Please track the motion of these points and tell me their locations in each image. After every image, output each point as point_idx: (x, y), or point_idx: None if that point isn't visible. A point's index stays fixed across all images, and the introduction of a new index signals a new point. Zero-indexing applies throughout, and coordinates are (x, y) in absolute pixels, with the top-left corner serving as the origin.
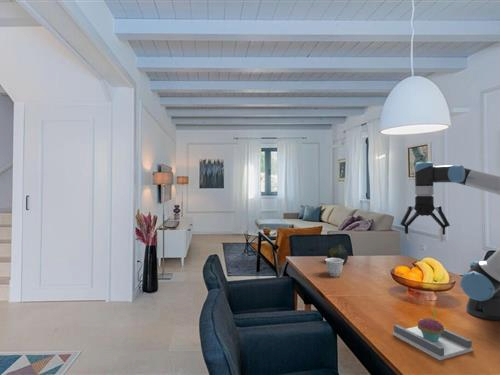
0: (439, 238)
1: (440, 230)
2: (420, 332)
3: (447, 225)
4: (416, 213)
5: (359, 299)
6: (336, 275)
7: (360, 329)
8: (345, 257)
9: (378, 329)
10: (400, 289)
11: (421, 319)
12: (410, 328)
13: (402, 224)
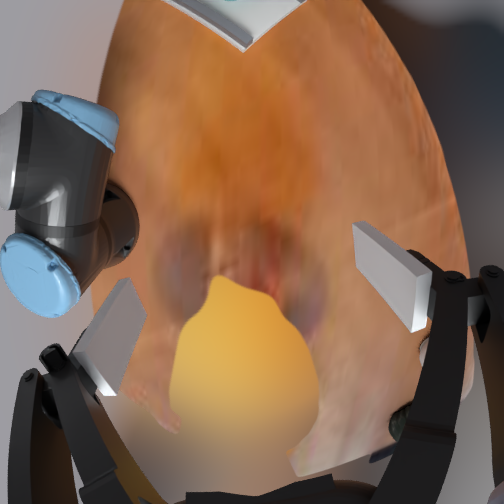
0: (136, 317)
1: (100, 341)
2: (251, 10)
3: (34, 373)
4: (442, 470)
5: (396, 195)
6: (427, 340)
7: (369, 12)
8: (397, 423)
9: (338, 17)
10: (295, 320)
11: (249, 39)
12: (273, 21)
13: (495, 266)
